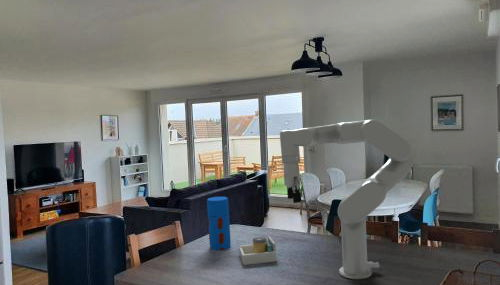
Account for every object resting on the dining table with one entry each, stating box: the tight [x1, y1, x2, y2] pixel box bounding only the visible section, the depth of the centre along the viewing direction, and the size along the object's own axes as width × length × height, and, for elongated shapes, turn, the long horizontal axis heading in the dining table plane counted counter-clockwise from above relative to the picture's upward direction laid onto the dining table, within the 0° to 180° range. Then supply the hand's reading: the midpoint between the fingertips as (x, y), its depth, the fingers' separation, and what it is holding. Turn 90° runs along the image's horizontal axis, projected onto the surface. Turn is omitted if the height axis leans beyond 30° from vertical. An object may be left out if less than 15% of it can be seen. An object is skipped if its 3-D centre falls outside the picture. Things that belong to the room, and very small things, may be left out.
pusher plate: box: [266, 238, 271, 252], centre depth 179 cm, size 1×11×6 cm, turn 8°
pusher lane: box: [238, 235, 277, 266], centre depth 179 cm, size 15×14×8 cm
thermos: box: [206, 196, 231, 251], centre depth 198 cm, size 11×11×25 cm
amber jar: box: [252, 236, 267, 253], centre depth 179 cm, size 6×6×8 cm
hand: (294, 200), depth 161 cm, fingers open, 9 cm apart
